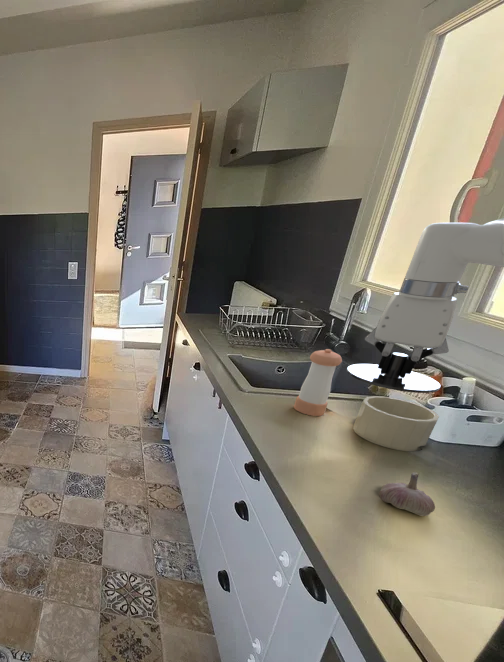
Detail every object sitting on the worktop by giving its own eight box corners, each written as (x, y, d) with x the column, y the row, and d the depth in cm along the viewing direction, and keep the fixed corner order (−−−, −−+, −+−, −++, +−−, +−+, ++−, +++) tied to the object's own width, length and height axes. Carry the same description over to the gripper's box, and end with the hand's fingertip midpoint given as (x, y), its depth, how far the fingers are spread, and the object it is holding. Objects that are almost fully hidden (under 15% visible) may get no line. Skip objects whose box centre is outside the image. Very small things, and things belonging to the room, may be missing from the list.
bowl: (437, 446, 96) (452, 416, 93) (400, 455, 92) (414, 424, 89) (376, 420, 108) (387, 393, 105) (340, 427, 104) (350, 400, 101)
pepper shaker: (328, 411, 113) (349, 350, 106) (318, 418, 109) (340, 355, 102) (299, 402, 119) (318, 343, 111) (289, 409, 115) (308, 348, 107)
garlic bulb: (367, 496, 79) (382, 464, 76) (396, 491, 81) (411, 460, 77) (409, 523, 72) (427, 489, 69) (440, 517, 74) (458, 483, 71)
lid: (456, 390, 79) (470, 362, 77) (406, 399, 76) (419, 370, 73) (375, 365, 92) (384, 341, 90) (329, 372, 89) (338, 347, 86)
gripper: (486, 291, 73) (444, 379, 81) (374, 282, 84) (346, 361, 91) (492, 297, 68) (447, 390, 76) (371, 287, 79) (342, 369, 86)
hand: (392, 373), depth 83 cm, fingers closed on lid, 2 cm apart
